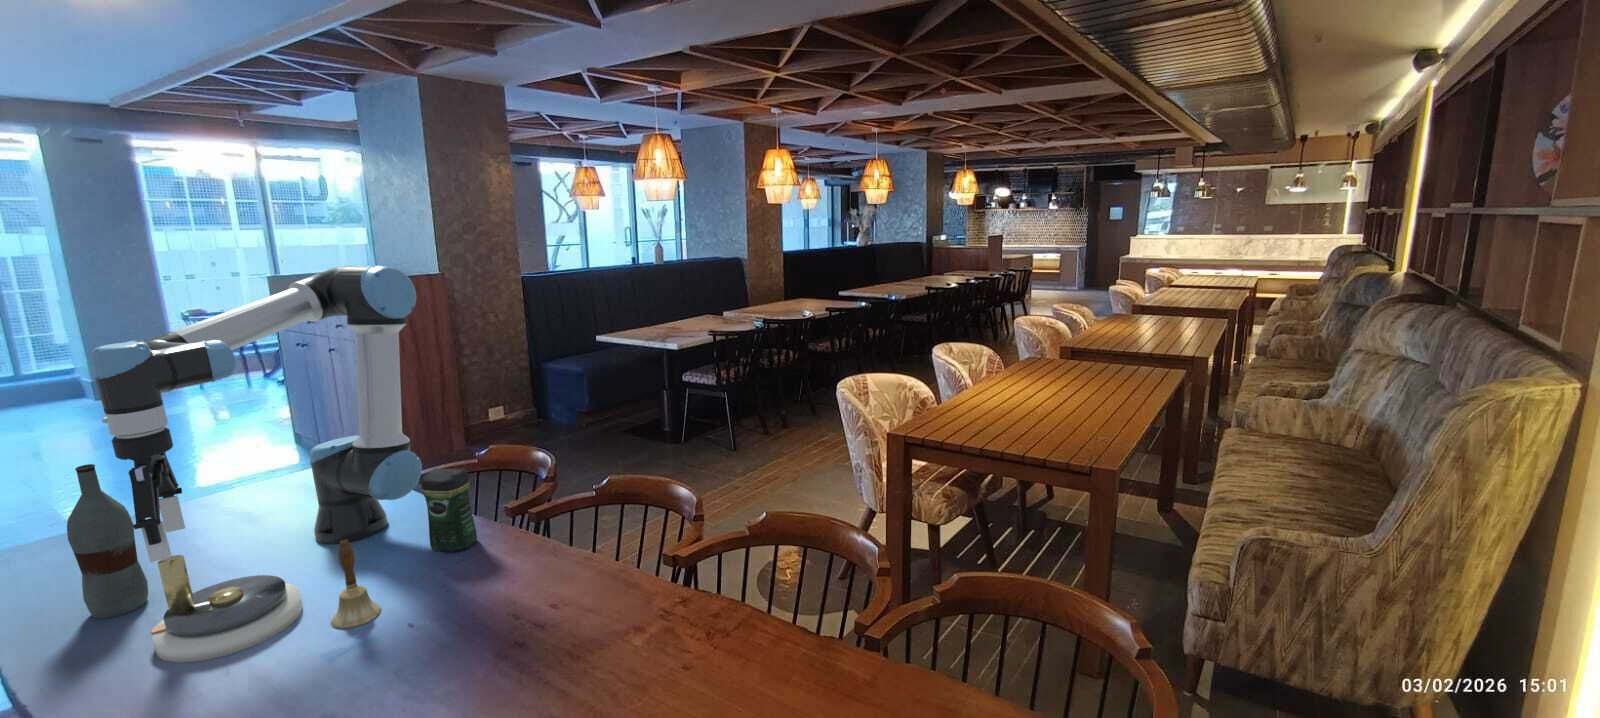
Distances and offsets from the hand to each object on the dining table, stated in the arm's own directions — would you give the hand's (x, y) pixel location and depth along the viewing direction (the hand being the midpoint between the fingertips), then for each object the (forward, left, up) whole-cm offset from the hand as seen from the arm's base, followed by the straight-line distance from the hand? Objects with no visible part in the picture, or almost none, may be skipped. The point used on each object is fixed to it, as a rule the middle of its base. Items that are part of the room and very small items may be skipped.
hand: (168, 544), depth 128 cm
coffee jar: (-46, -12, -19) cm, 51 cm away
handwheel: (-6, 0, -15) cm, 16 cm away
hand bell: (-26, +10, -19) cm, 34 cm away
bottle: (+14, -22, -19) cm, 32 cm away
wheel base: (-6, 0, -19) cm, 20 cm away
